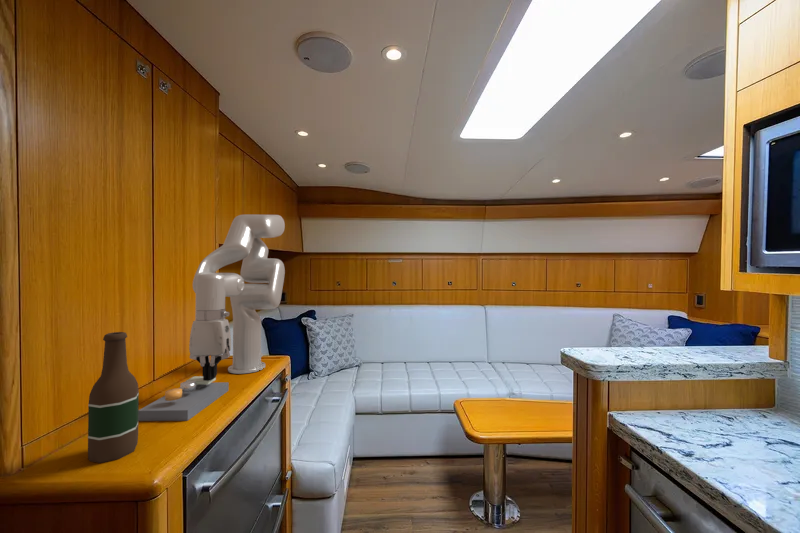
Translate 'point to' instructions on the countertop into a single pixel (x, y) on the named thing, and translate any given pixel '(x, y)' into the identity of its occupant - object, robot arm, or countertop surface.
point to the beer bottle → (113, 405)
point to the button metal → (188, 386)
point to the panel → (183, 403)
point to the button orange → (173, 394)
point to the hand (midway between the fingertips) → (209, 378)
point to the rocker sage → (201, 380)
